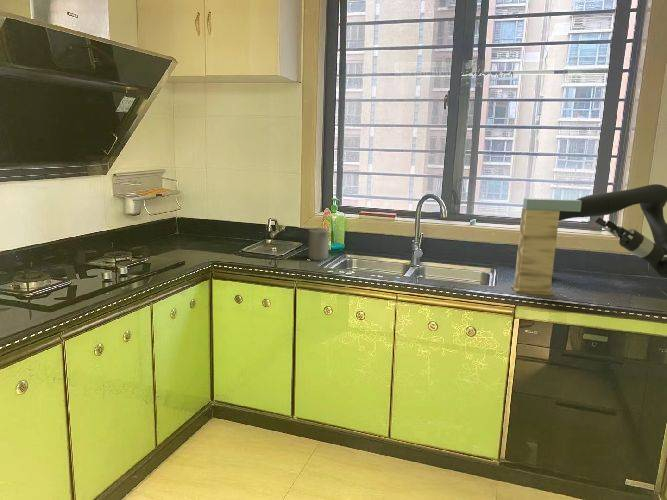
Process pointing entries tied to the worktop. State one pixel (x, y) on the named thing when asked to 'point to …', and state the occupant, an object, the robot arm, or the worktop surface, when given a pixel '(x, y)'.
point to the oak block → (536, 252)
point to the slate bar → (552, 204)
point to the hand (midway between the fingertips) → (601, 220)
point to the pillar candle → (318, 244)
